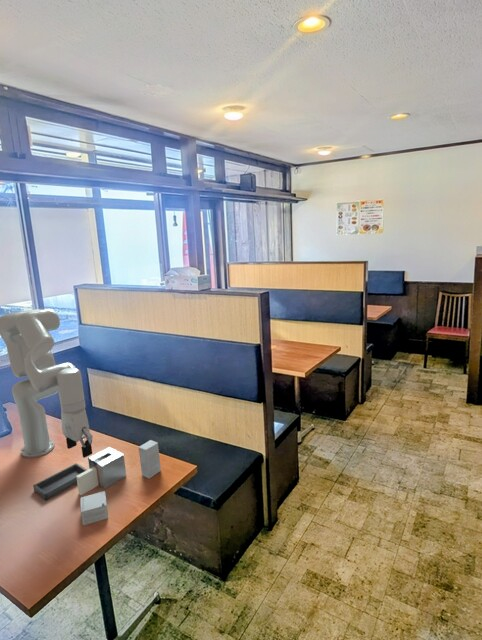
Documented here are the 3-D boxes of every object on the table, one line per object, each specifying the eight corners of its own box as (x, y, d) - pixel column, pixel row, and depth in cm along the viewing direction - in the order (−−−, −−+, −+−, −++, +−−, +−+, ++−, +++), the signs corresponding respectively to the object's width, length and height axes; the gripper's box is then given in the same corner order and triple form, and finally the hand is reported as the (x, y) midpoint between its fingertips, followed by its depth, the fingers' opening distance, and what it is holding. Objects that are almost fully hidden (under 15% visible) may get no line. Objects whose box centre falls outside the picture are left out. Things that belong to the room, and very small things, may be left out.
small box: (82, 510, 129) (80, 496, 128) (107, 503, 132) (105, 490, 131) (82, 526, 122) (80, 512, 121) (108, 518, 125) (106, 505, 124)
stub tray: (34, 491, 139) (33, 485, 139) (77, 468, 152) (76, 463, 151) (45, 500, 134) (44, 494, 134) (89, 476, 147) (88, 470, 146)
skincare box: (153, 467, 151) (150, 439, 148) (161, 471, 148) (158, 442, 146) (141, 475, 146) (138, 446, 143) (149, 479, 144) (146, 450, 141)
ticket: (78, 493, 137) (76, 475, 136) (110, 474, 147) (108, 458, 146) (81, 495, 136) (78, 477, 135) (113, 476, 146) (111, 459, 144)
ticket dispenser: (91, 479, 145) (88, 457, 143) (112, 467, 152) (109, 446, 150) (105, 488, 139) (102, 466, 137) (126, 475, 146) (123, 454, 144)
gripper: (49, 403, 133) (56, 448, 137) (76, 416, 123) (83, 464, 126) (70, 395, 139) (76, 439, 143) (97, 407, 128) (104, 454, 132)
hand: (79, 451), depth 134 cm, fingers open, 9 cm apart
